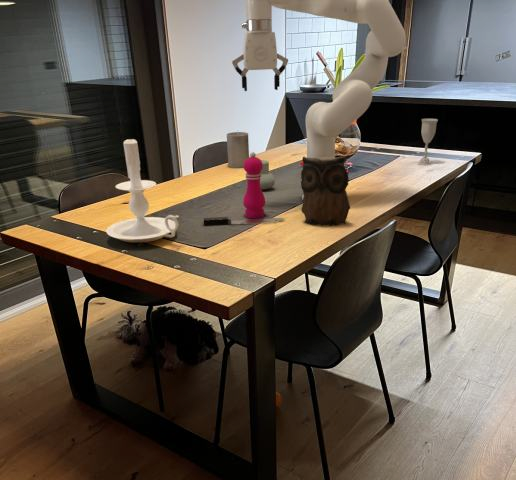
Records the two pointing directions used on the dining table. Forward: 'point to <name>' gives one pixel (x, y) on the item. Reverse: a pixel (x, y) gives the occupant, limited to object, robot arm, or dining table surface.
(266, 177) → the air freshener
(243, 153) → the pillar candle
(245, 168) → the pepper mill
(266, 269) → the dining table surface
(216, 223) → the knife
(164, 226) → the candlestick
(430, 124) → the chalice
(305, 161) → the owl
